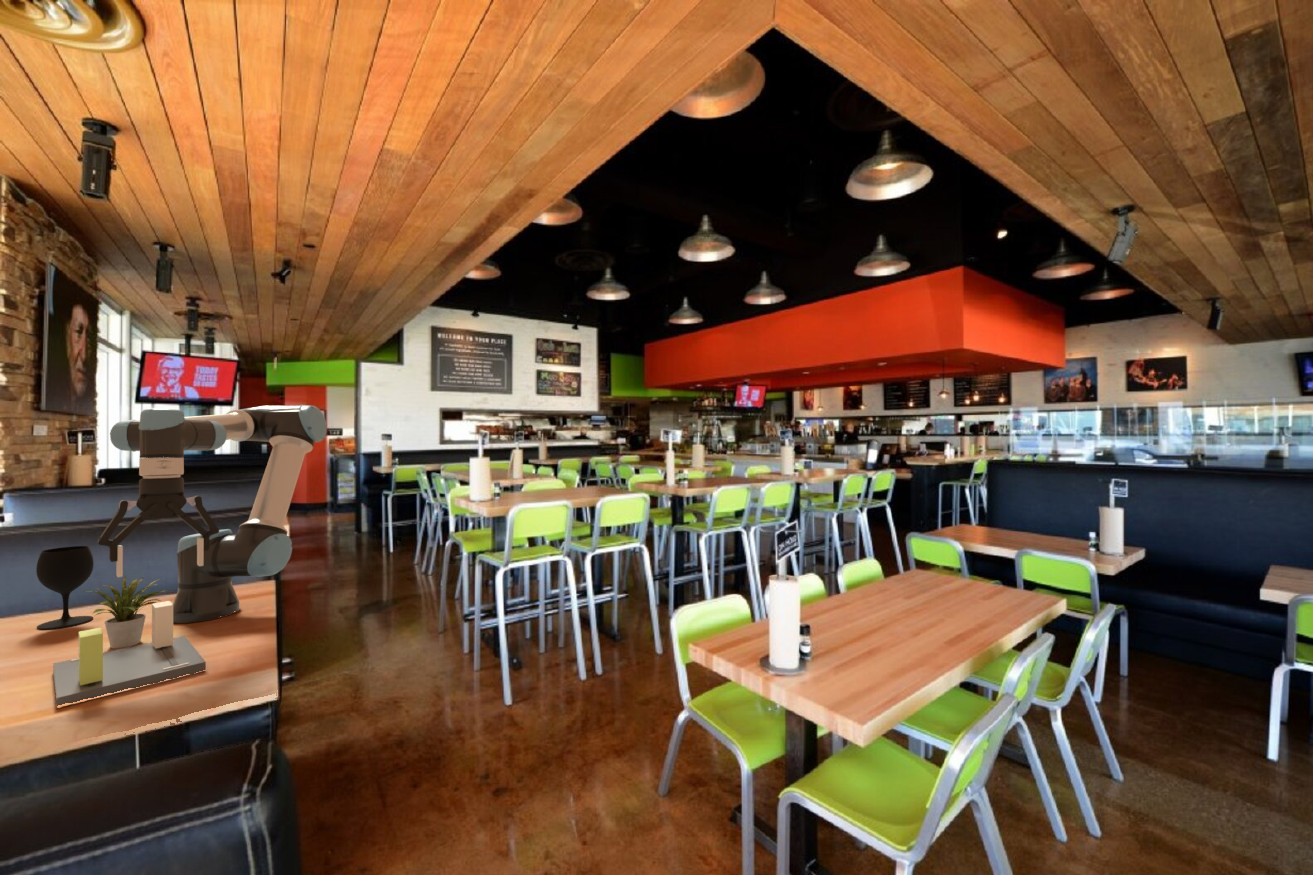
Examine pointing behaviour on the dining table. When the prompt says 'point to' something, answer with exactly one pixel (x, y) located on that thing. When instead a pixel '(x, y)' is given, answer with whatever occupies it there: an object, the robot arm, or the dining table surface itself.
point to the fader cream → (162, 624)
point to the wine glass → (65, 579)
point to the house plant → (125, 614)
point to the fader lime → (90, 656)
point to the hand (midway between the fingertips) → (161, 570)
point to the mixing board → (128, 670)
